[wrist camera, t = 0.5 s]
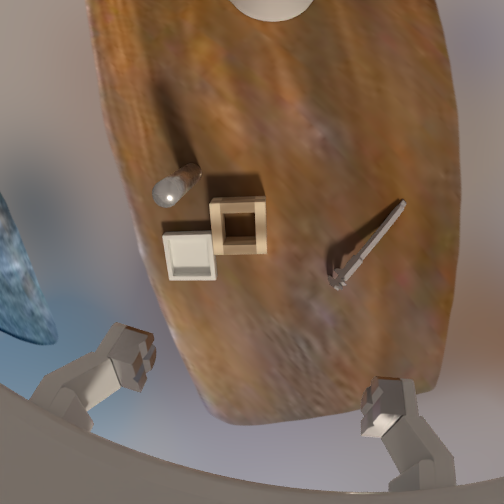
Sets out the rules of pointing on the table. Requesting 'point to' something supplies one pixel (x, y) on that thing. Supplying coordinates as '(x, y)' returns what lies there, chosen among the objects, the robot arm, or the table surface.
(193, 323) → the table surface
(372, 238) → the caliper
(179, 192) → the grey rounded cylinder
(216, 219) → the bore block
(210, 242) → the tray
